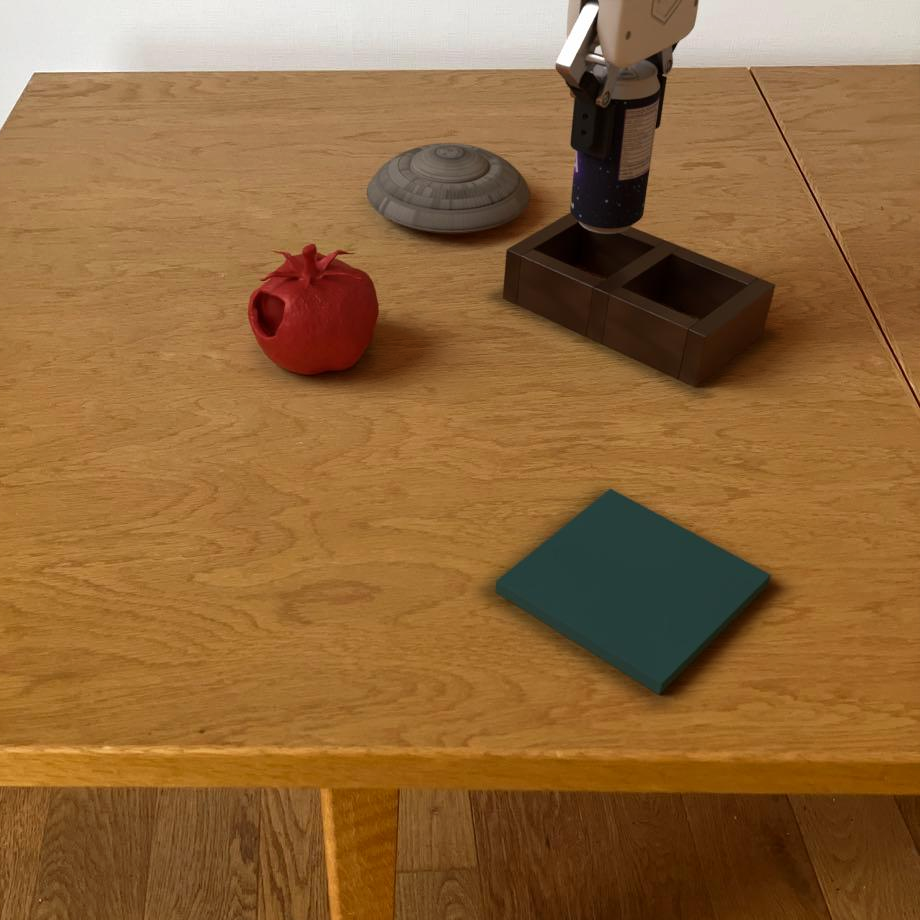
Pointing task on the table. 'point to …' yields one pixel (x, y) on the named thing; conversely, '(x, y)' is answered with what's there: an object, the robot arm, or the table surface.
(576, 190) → the beverage can
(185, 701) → the table surface
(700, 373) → the box
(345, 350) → the pomegranate
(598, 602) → the mat
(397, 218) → the flying saucer
